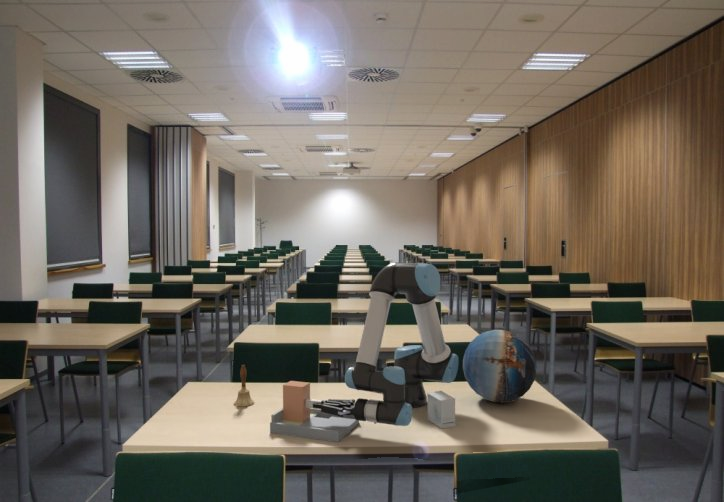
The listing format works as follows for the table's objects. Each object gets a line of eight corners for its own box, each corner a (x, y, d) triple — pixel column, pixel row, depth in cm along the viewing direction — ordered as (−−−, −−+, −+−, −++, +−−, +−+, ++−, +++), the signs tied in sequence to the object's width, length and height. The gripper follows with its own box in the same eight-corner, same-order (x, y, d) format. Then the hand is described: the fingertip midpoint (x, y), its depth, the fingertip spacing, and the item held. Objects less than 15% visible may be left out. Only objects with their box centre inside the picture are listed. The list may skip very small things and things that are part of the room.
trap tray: (359, 422, 204) (359, 406, 204) (338, 442, 186) (338, 424, 185) (296, 414, 213) (295, 399, 213) (270, 432, 195) (270, 415, 194)
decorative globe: (530, 366, 249) (463, 354, 254) (542, 321, 229) (469, 309, 235) (529, 423, 226) (455, 409, 232) (543, 378, 207) (462, 364, 213)
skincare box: (426, 419, 208) (426, 392, 208) (441, 417, 210) (441, 390, 210) (440, 428, 198) (440, 399, 198) (455, 426, 201) (455, 397, 200)
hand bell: (229, 405, 225) (229, 366, 225) (241, 399, 233) (241, 362, 232) (246, 407, 222) (246, 368, 222) (258, 402, 230) (257, 364, 229)
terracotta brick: (310, 417, 204) (310, 382, 204) (302, 422, 199) (302, 387, 198) (290, 415, 207) (290, 380, 207) (283, 420, 201) (282, 384, 201)
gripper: (360, 427, 186) (298, 419, 195) (373, 415, 199) (314, 407, 207) (360, 405, 186) (298, 398, 194) (373, 394, 198) (314, 388, 207)
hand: (306, 403), depth 201 cm, fingers closed
